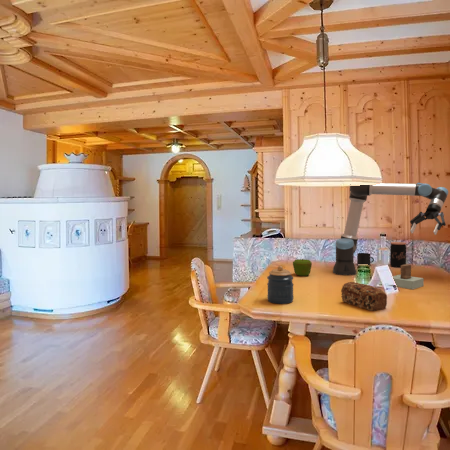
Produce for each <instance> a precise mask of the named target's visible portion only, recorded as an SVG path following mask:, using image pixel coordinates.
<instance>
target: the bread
mask: <svg viewBox="0 0 450 450" xmlns="http://www.w3.org/2000/svg"><path fill="white" fill-rule="evenodd" d="M340 292H341V301H342V302H343V303H346V304H349V305H351V306H355V307H357V308H360V309H364V310H367V311H373V312H374V311H378V310H384V309H386V308H387V304H388V295H387V293H386V292H385V291H384V290H382V289H379V288H377V287H375V286H373V285H369V284H365V283H359V282H355V281H349V282H348V281H347V282H346V283H344V284H343V285H342V287H341V291H340Z"/></svg>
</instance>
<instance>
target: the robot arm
mask: <svg viewBox="0 0 450 450" xmlns="http://www.w3.org/2000/svg"><path fill="white" fill-rule="evenodd" d="M379 183H380V184H376V185H360V186H350V185H349V191H350V193H349V200H350V201H349V207H348V214H347V217H346V221H345V226H344V227H345V228H344V233H342V234H341V235H340V238H338V239H337V240H336V241H335V262H334V265H333V268H332V273H333V274H335V275H340V276H354V275H357V269H356V266H355V263H354V260H355V259H354V258H355V257H354V254H355V253H356V252H357V250H358V249H357V248H358V241H359V238H358V236H357V235H358V234H357V233H358V230H359V225H360V221H361V217H362V211H363V207H364V204H365V203H366V201H367V200H368V196H372V195H383V196H385V195H386V196H388V195H391V196H410V197H411V196H412V197H413V196H414V197H415V196H416V197H423V198H426V199H428V200H430V201H429V203H428V206H427V207H426V210H425V212H422V211H419V212H418V214H416V216H414V217H413V218H412V219H411V220H409V223H410V228H411V229H410V230H409V231H410V233H411V234H414V232H415V230H416V228H417V225H418V224H420V223H422V222H423V221H427V220H434V221H436V225H435V228H434V230H433V232H432V233H433V234H434V235H436V236H437V233H438V231H440V230H441V228H442V227H445V226H447V224H446V221H445V218H444V216H445V213H444V212H443V211H442V208H443V206H444V204H445V202H446V200H447V198H448V195H449V190H448V189H447V188H446V187H444V186H439V187H436V188H435V187H432V186H431V185H430V184H429V183H421V182H416V183H404V182H402V183H401V182H398V183H397V182H379ZM438 217H440V219H439V218H438ZM440 220H441V221H440Z"/></svg>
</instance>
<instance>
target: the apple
mask: <svg viewBox="0 0 450 450" xmlns="http://www.w3.org/2000/svg"><path fill="white" fill-rule="evenodd" d="M312 264H313V263H312V261H311V260H310V259H304V258H298V259H294V261H292V266H293V267H292V268H293V271H294V274H296V275H297V276H298V277H308V276H309V275H310V274H311V269H312Z"/></svg>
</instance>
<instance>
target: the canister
mask: <svg viewBox="0 0 450 450" xmlns="http://www.w3.org/2000/svg"><path fill="white" fill-rule="evenodd" d="M268 274H269V275H267V276H266V277H267V281H268V282H267V294H266V296H267V297H266V298H267V301H268V302H269V303H272V304H279V305H280V304H281V305H286V304H290V303H291V304H292V302H293V301H294V283H293V279H294V276H292V272H291V271H290V270H289V269H285V268H283V266H282V265H278V266H277V268H275V269H272V270H270V271H268Z"/></svg>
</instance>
